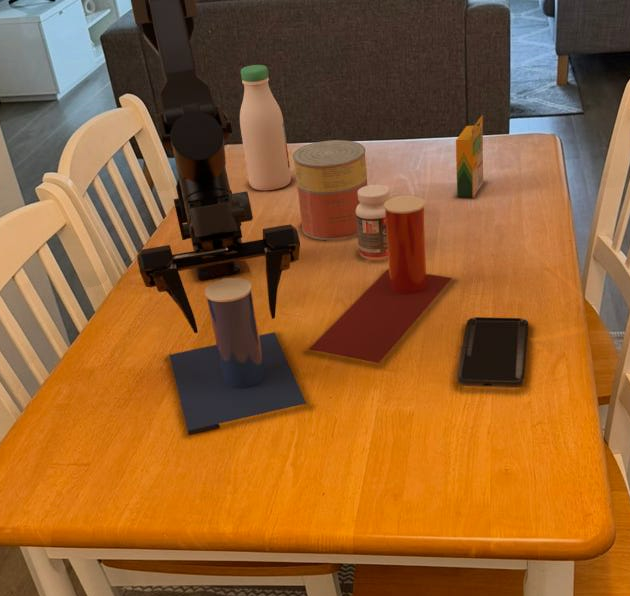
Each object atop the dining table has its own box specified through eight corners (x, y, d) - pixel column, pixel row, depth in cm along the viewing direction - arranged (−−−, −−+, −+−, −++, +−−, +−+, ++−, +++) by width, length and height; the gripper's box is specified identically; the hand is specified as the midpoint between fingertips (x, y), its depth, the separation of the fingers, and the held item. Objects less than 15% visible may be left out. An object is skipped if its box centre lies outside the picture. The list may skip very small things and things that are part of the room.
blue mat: (170, 358, 115) (169, 354, 114) (275, 336, 117) (274, 332, 117) (188, 434, 101) (187, 430, 101) (307, 407, 104) (306, 403, 103)
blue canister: (230, 364, 111) (212, 277, 104) (271, 365, 110) (256, 278, 103) (217, 388, 107) (198, 299, 100) (259, 389, 106) (243, 300, 99)
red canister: (384, 281, 126) (378, 199, 119) (420, 273, 127) (416, 192, 120) (396, 297, 122) (391, 214, 115) (433, 289, 123) (430, 206, 116)
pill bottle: (392, 262, 132) (388, 198, 126) (355, 261, 133) (349, 198, 127) (399, 245, 136) (395, 182, 130) (363, 245, 138) (358, 182, 132)
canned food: (376, 211, 148) (371, 139, 140) (364, 240, 139) (357, 165, 132) (310, 212, 150) (302, 140, 142) (295, 240, 141) (284, 165, 134)
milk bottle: (289, 190, 158) (274, 72, 146) (247, 192, 159) (227, 75, 146) (293, 174, 164) (278, 60, 152) (252, 177, 165) (234, 63, 152)
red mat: (388, 271, 130) (388, 268, 129) (452, 281, 126) (452, 277, 125) (309, 352, 113) (308, 348, 113) (379, 366, 109) (378, 362, 109)
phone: (528, 318, 114) (523, 382, 102) (528, 326, 114) (523, 390, 103) (467, 317, 115) (455, 379, 103) (467, 324, 116) (455, 387, 104)
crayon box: (467, 181, 155) (466, 113, 148) (483, 182, 154) (484, 114, 147) (456, 197, 150) (455, 128, 143) (473, 198, 149) (473, 128, 142)
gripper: (118, 182, 96) (146, 319, 94) (286, 155, 99) (316, 288, 97) (133, 223, 107) (158, 346, 105) (284, 198, 110) (311, 318, 108)
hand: (234, 324), depth 104 cm, fingers open, 9 cm apart
